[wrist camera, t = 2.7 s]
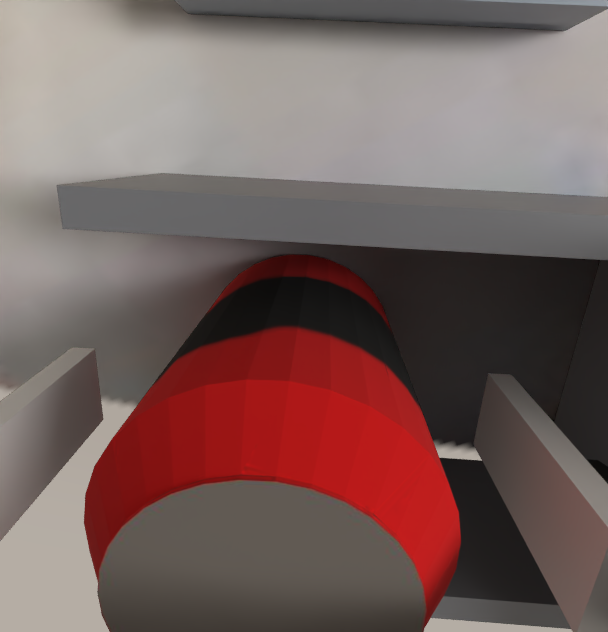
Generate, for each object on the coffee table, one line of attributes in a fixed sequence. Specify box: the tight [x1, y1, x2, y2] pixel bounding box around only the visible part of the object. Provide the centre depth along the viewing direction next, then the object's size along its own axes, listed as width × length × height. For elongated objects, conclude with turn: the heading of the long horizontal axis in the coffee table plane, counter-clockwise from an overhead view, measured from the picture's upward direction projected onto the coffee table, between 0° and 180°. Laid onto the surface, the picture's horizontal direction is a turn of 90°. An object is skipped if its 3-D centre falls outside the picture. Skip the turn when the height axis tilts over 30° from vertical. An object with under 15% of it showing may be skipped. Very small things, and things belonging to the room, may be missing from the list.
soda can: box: [84, 255, 461, 632], centre depth 13 cm, size 8×8×12 cm
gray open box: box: [57, 173, 608, 629], centre depth 13 cm, size 13×20×12 cm, turn 87°
